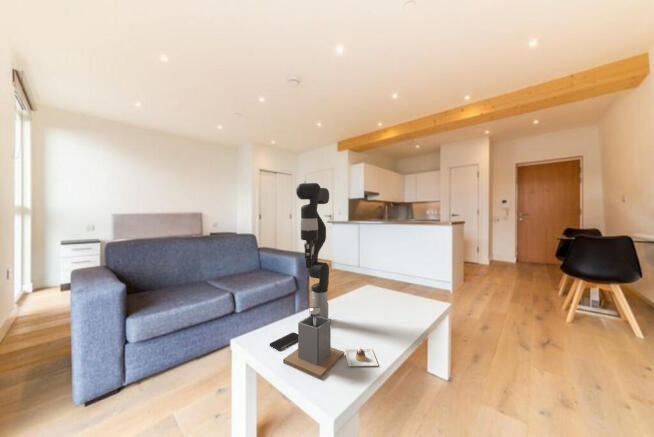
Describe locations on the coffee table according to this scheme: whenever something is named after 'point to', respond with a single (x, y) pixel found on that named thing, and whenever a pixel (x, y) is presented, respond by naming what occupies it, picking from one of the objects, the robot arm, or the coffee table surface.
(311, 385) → the coffee table surface
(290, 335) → the phone
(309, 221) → the robot arm
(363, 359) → the dessert
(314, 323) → the plunger
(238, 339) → the coffee table surface
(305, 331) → the grey square holder
